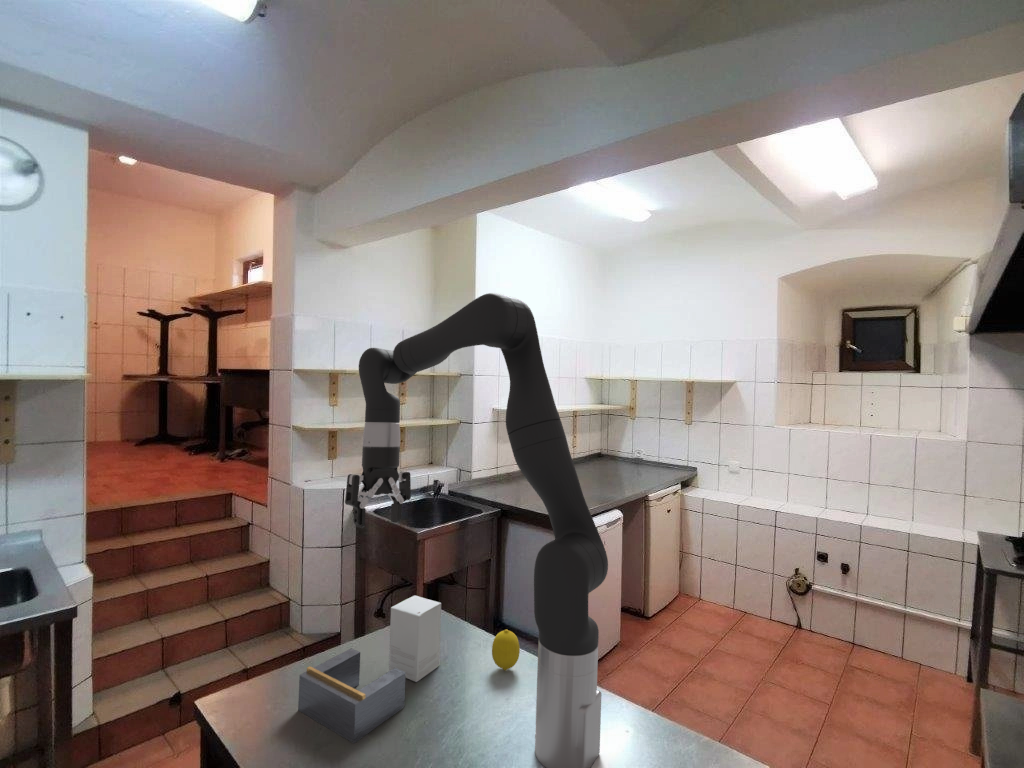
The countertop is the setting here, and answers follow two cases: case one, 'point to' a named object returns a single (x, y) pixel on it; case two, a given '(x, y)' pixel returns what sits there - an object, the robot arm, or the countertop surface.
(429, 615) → the supplement box
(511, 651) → the lemon
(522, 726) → the countertop surface
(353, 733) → the cradle
